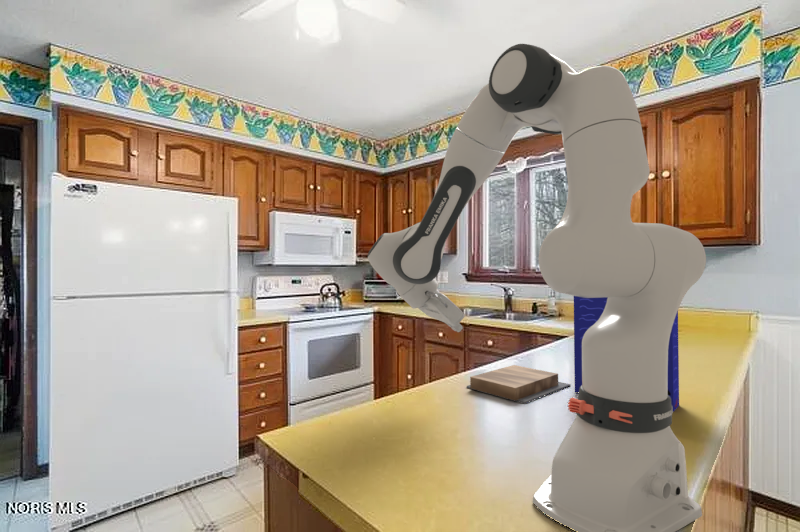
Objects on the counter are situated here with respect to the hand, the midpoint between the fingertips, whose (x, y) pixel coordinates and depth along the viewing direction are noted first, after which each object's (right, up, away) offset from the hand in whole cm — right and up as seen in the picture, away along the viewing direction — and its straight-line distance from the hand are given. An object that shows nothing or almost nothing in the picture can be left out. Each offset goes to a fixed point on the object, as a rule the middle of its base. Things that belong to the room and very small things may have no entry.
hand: (459, 329), depth 103 cm
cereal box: (+41, -17, 0) cm, 44 cm away
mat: (+18, -17, +10) cm, 27 cm away
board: (+9, -15, +3) cm, 18 cm away
